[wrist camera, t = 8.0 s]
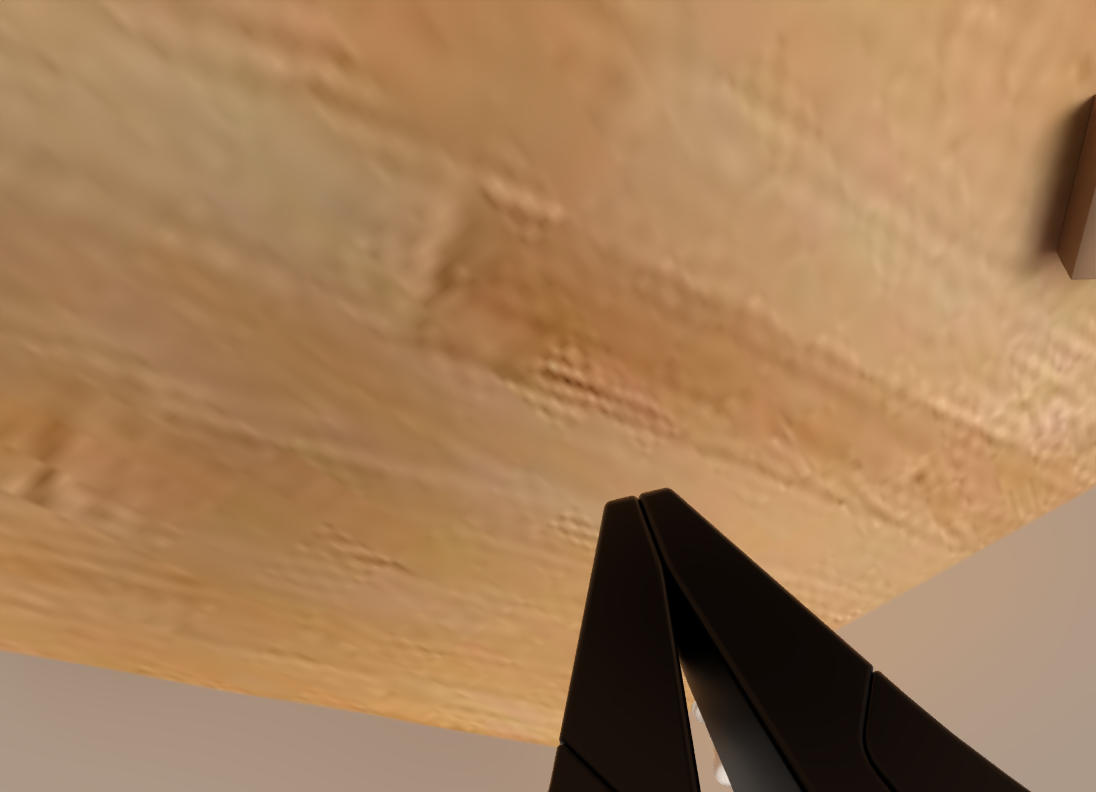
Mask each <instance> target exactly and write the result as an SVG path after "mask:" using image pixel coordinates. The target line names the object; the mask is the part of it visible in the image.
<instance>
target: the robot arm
mask: <svg viewBox="0 0 1096 792" xmlns="http://www.w3.org/2000/svg"><path fill="white" fill-rule="evenodd" d="M680 664H681V666H680ZM681 667H682V669H683V672H684V675H685V677H686V680H687V682H688V685H689V687H690V689H691V692H692V694H693V696H694V699H695V701H696V704H697V706H698V708H699V711H700V713H701V715H702V718H703V720H704V723H705V725H706V727H707V730H708V732H709V734H710V737H711V739H712V741H713V744H714V746H715V749H716V751H717V753H718V756H719V758H720V760H721V763H722V765H723V768H724V770H725V772H726V775H727V777H728V779H729V782H730V784H731V787H732V789H733V791H734V792H1031V791H1029V790H1028V789H1026V788H1025V787H1024V786H1022V785H1021V784H1020V783H1018V782H1017V781H1015V780H1014V779H1013V778H1011V777H1010V776H1008V775H1007V774H1006V773H1004V772H1003V771H1002V770H1000V769H999V768H998V767H996V766H995V765H994V764H992V763H991V762H990V761H988V760H987V759H986V758H985V757H983V756H982V755H980V754H979V753H978V752H976V751H975V750H974V749H973V748H971V747H970V746H969V745H967V744H966V743H965V742H963V741H962V740H961V739H959V738H958V737H957V736H955V735H954V734H953V733H951V732H950V731H949V730H948V729H946V728H945V727H944V726H943V725H942V724H941V723H939V722H938V721H937V720H936V719H935V718H933V717H932V716H931V715H930V714H928V713H927V712H926V711H925V710H924V709H922V708H921V707H920V706H919V705H918V704H917V703H915V702H914V701H913V700H912V699H911V698H909V697H908V696H907V695H906V694H905V693H904V692H902V691H901V690H900V689H899V688H898V687H897V686H896V685H894V684H893V683H892V682H891V681H890V680H888V678H887V677H885V676H884V675H883V674H882V673H881V672H879V671H874V672H873V666H872V665H871V664H870V663H869V662H868V661H867V660H866V659H865V658H863V657H862V656H861V655H860V654H859V653H858V652H857V651H855V650H854V649H853V648H852V647H851V646H850V645H849V644H847V643H846V642H845V641H844V640H843V639H842V638H840V637H839V636H838V635H837V634H836V633H835V632H834V631H833V630H831V629H830V628H829V627H828V626H827V625H826V624H825V623H824V622H822V621H821V620H820V619H819V618H818V617H817V616H816V615H814V614H813V613H812V612H811V611H810V610H809V609H808V608H806V607H805V606H804V605H803V604H802V603H801V602H800V601H798V600H797V599H796V598H795V597H794V596H793V595H792V594H790V593H789V592H788V591H787V590H786V589H785V588H784V587H782V586H781V585H780V584H779V583H778V582H777V581H776V580H774V579H773V578H772V577H771V576H770V575H769V574H768V573H767V572H765V571H764V570H763V569H762V568H761V567H760V566H759V565H757V564H756V563H755V562H754V561H753V560H752V559H751V558H749V557H748V556H747V555H746V554H745V553H744V552H743V551H741V550H740V549H739V548H738V547H737V546H736V545H735V544H733V543H732V542H731V541H730V540H729V539H728V538H727V537H725V536H724V535H723V534H722V533H721V532H720V531H719V530H717V529H716V528H715V527H714V526H713V525H712V524H711V523H710V522H708V521H707V520H706V519H705V518H704V517H703V516H702V515H700V514H699V513H698V512H697V511H696V510H695V509H694V508H692V507H691V506H690V505H689V504H688V503H687V502H686V501H684V500H683V499H682V498H681V497H680V496H679V495H678V494H676V493H675V492H674V491H673V490H671V489H669V488H663V489H658V490H654V491H650V492H646V493H642V494H641V495H640V496H639V499H638V498H637V497H635V496H629V497H624V498H620V499H616V500H612V501H609V502H607V503H606V505H605V507H604V511H603V516H602V522H601V527H600V532H599V537H598V542H597V547H596V552H595V558H594V563H593V568H592V573H591V578H590V583H589V589H588V594H587V599H586V604H585V609H584V614H583V619H582V625H581V630H580V635H579V640H578V645H577V650H576V655H575V661H574V666H573V671H572V676H571V681H570V686H569V691H568V697H567V702H566V707H565V712H564V717H563V722H562V728H561V733H560V738H559V741H560V744H561V745H559V746H558V747H557V751H556V756H555V761H554V767H553V772H552V777H551V782H550V786H549V790H548V792H701V790H700V784H699V777H698V771H697V765H696V759H695V753H694V746H693V740H692V735H691V728H690V722H689V716H688V709H687V703H686V697H685V691H684V685H683V679H682V672H681Z"/></svg>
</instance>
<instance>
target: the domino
mask: <svg viewBox="0 0 1096 792" xmlns="http://www.w3.org/2000/svg"><path fill="white" fill-rule="evenodd" d="M1057 254H1058V256H1059V258H1060V260H1061V262H1062V263H1063V265H1064V267H1065V269H1066V271H1067V273H1068V275H1069V277H1070V278H1071V280H1078V279H1096V95H1095V97H1094V102H1093V106H1092V110H1091V114H1090V118H1089V122H1088V126H1087V130H1086V134H1085V138H1084V143H1083V147H1082V151H1081V155H1080V159H1079V163H1078V167H1077V171H1076V175H1075V179H1074V184H1073V188H1072V192H1071V196H1070V200H1069V204H1068V208H1067V212H1066V216H1065V220H1064V225H1063V229H1062V233H1061V237H1060V241H1059V245H1058V249H1057Z"/></svg>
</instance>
